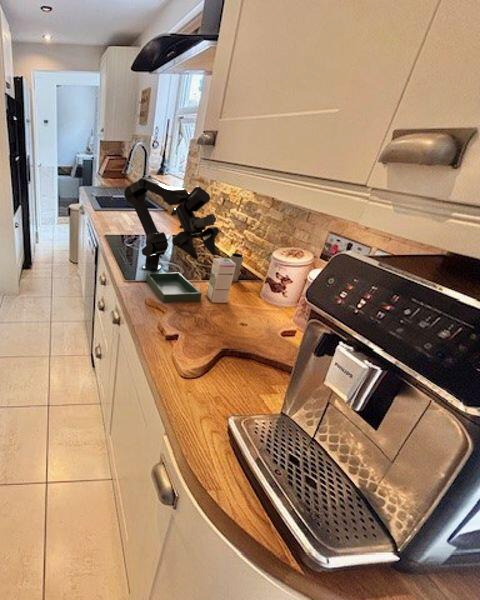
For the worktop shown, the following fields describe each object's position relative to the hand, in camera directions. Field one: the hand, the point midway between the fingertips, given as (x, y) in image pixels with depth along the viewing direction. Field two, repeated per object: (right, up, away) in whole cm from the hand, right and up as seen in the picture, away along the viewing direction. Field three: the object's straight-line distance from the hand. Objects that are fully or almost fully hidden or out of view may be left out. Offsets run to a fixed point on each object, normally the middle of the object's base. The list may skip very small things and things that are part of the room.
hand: (205, 256), depth 115 cm
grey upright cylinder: (+17, -7, +17) cm, 25 cm away
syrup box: (+4, -15, 0) cm, 16 cm away
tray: (-11, -12, +6) cm, 17 cm away
